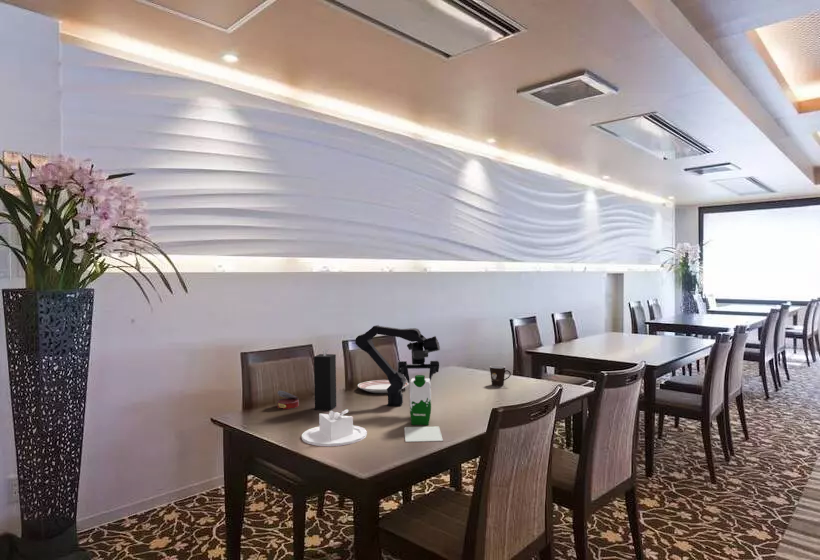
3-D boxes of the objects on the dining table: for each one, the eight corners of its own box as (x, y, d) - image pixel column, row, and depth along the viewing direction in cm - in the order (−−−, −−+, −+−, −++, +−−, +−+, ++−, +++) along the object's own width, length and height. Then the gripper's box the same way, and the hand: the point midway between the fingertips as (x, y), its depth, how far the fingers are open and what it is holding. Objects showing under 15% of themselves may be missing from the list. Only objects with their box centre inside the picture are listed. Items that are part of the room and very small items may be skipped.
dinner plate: (352, 387, 295) (352, 381, 295) (398, 382, 305) (398, 377, 305) (365, 397, 269) (365, 391, 269) (416, 392, 279) (416, 386, 279)
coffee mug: (486, 384, 296) (486, 366, 296) (499, 382, 300) (499, 365, 300) (498, 388, 286) (498, 369, 286) (512, 386, 289) (511, 368, 289)
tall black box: (330, 410, 243) (329, 349, 243) (314, 410, 245) (313, 349, 245) (336, 406, 251) (335, 347, 251) (320, 406, 253) (319, 347, 252)
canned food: (277, 416, 253) (273, 396, 257) (298, 411, 258) (293, 391, 261) (281, 410, 244) (276, 389, 248) (302, 405, 249) (297, 384, 252)
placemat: (404, 427, 215) (404, 427, 215) (438, 427, 216) (438, 426, 216) (405, 442, 197) (405, 441, 197) (443, 441, 198) (442, 440, 198)
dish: (379, 435, 207) (379, 406, 207) (330, 451, 189) (329, 420, 189) (338, 423, 224) (338, 397, 224) (288, 438, 205) (288, 408, 205)
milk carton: (409, 425, 218) (408, 376, 218) (411, 419, 227) (410, 372, 227) (430, 425, 218) (430, 377, 217) (431, 419, 227) (431, 372, 226)
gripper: (397, 343, 243) (398, 372, 232) (438, 343, 243) (441, 372, 233) (397, 358, 251) (398, 386, 240) (437, 357, 251) (439, 386, 241)
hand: (419, 382), depth 238 cm, fingers open, 9 cm apart
